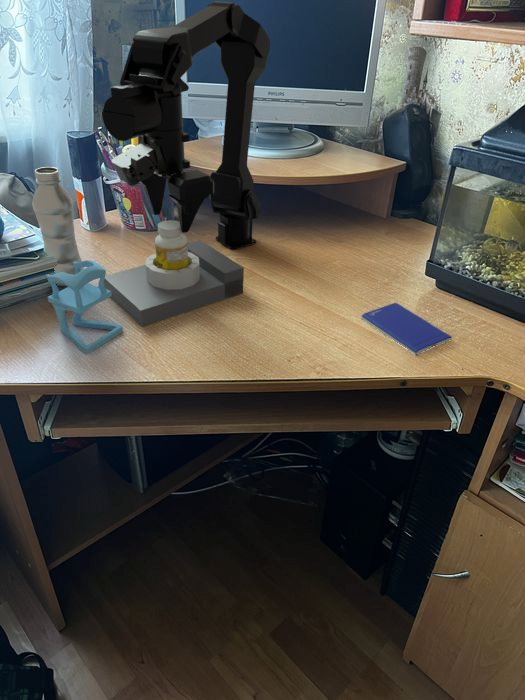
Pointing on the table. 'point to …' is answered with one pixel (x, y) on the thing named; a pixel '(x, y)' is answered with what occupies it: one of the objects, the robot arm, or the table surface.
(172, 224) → the supplement bottle
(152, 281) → the grey ring holder base
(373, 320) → the hard drive
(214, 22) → the robot arm
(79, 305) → the chair
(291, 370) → the table surface
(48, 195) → the plastic bottle
